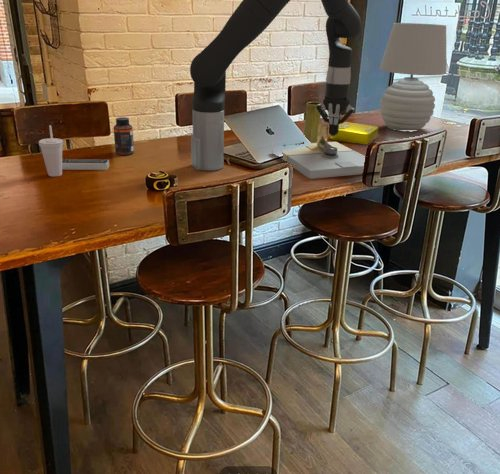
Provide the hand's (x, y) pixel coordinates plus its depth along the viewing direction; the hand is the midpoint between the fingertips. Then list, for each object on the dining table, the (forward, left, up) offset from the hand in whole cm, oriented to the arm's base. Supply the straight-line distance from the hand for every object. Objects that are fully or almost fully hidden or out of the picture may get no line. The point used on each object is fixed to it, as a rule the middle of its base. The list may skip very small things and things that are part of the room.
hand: (333, 135), depth 172 cm
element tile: (+20, +19, -7) cm, 29 cm away
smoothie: (-88, +2, -7) cm, 88 cm away
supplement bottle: (-66, +19, -7) cm, 69 cm away
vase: (0, +16, -7) cm, 17 cm away
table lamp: (+48, +27, -7) cm, 56 cm away
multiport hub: (-80, +6, -7) cm, 80 cm away
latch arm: (-5, -5, -3) cm, 7 cm away
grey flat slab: (-7, -8, -7) cm, 12 cm away
